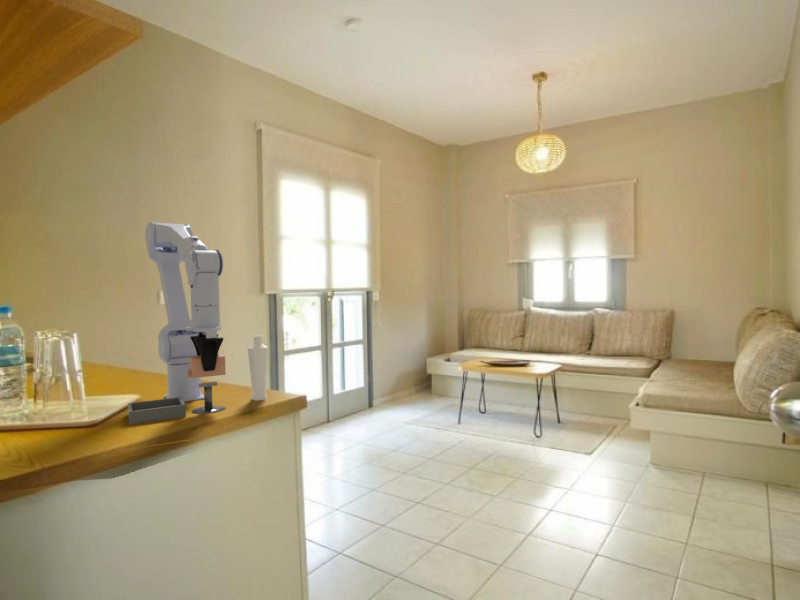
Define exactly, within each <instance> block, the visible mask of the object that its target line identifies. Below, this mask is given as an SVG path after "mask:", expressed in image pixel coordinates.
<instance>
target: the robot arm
mask: <svg viewBox="0 0 800 600" xmlns="http://www.w3.org/2000/svg"><path fill="white" fill-rule="evenodd" d="M145 244H146V245H145V246H146V251H147V254H148V257H149V260H152V261H153V262H155V263H156V266H157V270H158V272H159V278H160V284H161V288H162V294H163V299H164V305H165V311H166V316H167V321H168V323H167V324H166V325H165V326H163V327H162V328H161V329H160V331H159V332H158V335H157V340H158V355H159V358H160V360H162V362H163V363H165V364H166V366H167V367H166V368H167V392H168V393H167V394H166V393H165V394H164V399H168V398H176V397H181V398H182V400H183V401H184V403H185V402H190V401H191V402H193V401H199V400H204V393H202V387H201V388H199V383H202V382H201V381H202V380H201V378H202V377H200V378H192V377H188V371H187V370H190V366H189V357H191V356H201V361H202V366H203V370H204V371H213V370H215V367H216V361H217V356H218V354H219V350H220V348H221V345H222V343H223V342H224V337H222V336H221V337H219V333H218V331H221V330H222V326H221V315H220V314H221V312H220V310H221V309H220V308H221V307H220V278H219V277H220V276H221V275H222V274H223V269H224V259H223V255H222V253H221V252H220V249H211V250H210V248H208V246H206V244H204V242H203V241H202V240H200V238H199V237H198V236H196V235H194V234H193V229H192V226H190V224H189V223H183V224H182V223H167V222H157V221H156V222H154V221H149V222H148V223H147V224H146V227H145ZM183 262H184V266H185V272H186V275H187V284H188V285H189V287H190V288H189V289H190V291H189V292H190V313H189V309H188V304H187V298H186V294H185V288H184V283H183V280H182V279H183V278H182V274H181V273H182V272H181V268H180V264H181V263H183ZM190 315H191V319H190Z"/></svg>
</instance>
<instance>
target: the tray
mask: <svg viewBox="0 0 800 600" xmlns="http://www.w3.org/2000/svg"><path fill="white" fill-rule="evenodd" d="M186 406H187V405H186V403H185V402H184V401H183V400H182V398H181V397H176V398H168V399H166V398H161V399H154V400H152V399H151V400H145V401H136V402H128V403H127V414H128V415H127V416H128V425H136V424H142V423H143V424H144V423H150V422H151V423H153V422H157V421H158V422H159V421H164V420H172V419H177V418H179V419H181V418H186V416H187V408H186Z"/></svg>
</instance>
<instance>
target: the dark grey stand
mask: <svg viewBox="0 0 800 600" xmlns="http://www.w3.org/2000/svg"><path fill="white" fill-rule="evenodd" d="M215 386H216V387H218V381H210V382H201V383H199V388H201V389H202V388H203V395H204V399H203V400H204V401H203V402H204V406H200V407H196V408H194V409H191V411H190V412H191V413H192V414H195V415H208V414H209V415H210V414H215V413H220V412H224V411H225V410H227V407H226V406H224V405H214V404H213V387H215Z"/></svg>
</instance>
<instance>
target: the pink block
mask: <svg viewBox="0 0 800 600" xmlns="http://www.w3.org/2000/svg"><path fill="white" fill-rule="evenodd" d="M189 366H190V370H187V371H188V377H192V378H208V377H209V378H210V377H216V376H217V377H218V376H226V356H225V355H223V354H219V353H218V356H217V361H216V367H215V370H213V371H204V370H203V366H202V361H201V356H191V357H189Z"/></svg>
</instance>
